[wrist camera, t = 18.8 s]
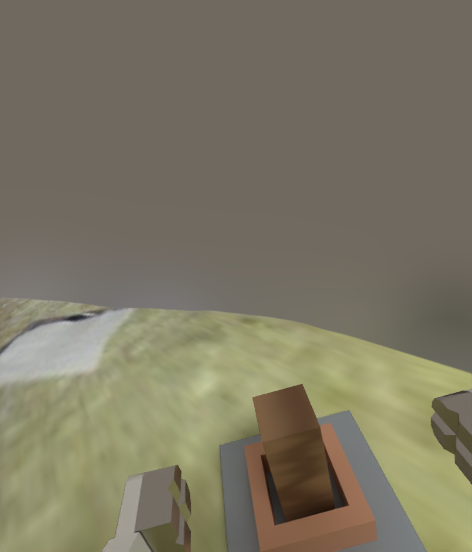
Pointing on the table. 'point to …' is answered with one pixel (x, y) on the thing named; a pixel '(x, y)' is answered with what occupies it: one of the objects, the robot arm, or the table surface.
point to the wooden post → (294, 452)
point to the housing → (324, 526)
